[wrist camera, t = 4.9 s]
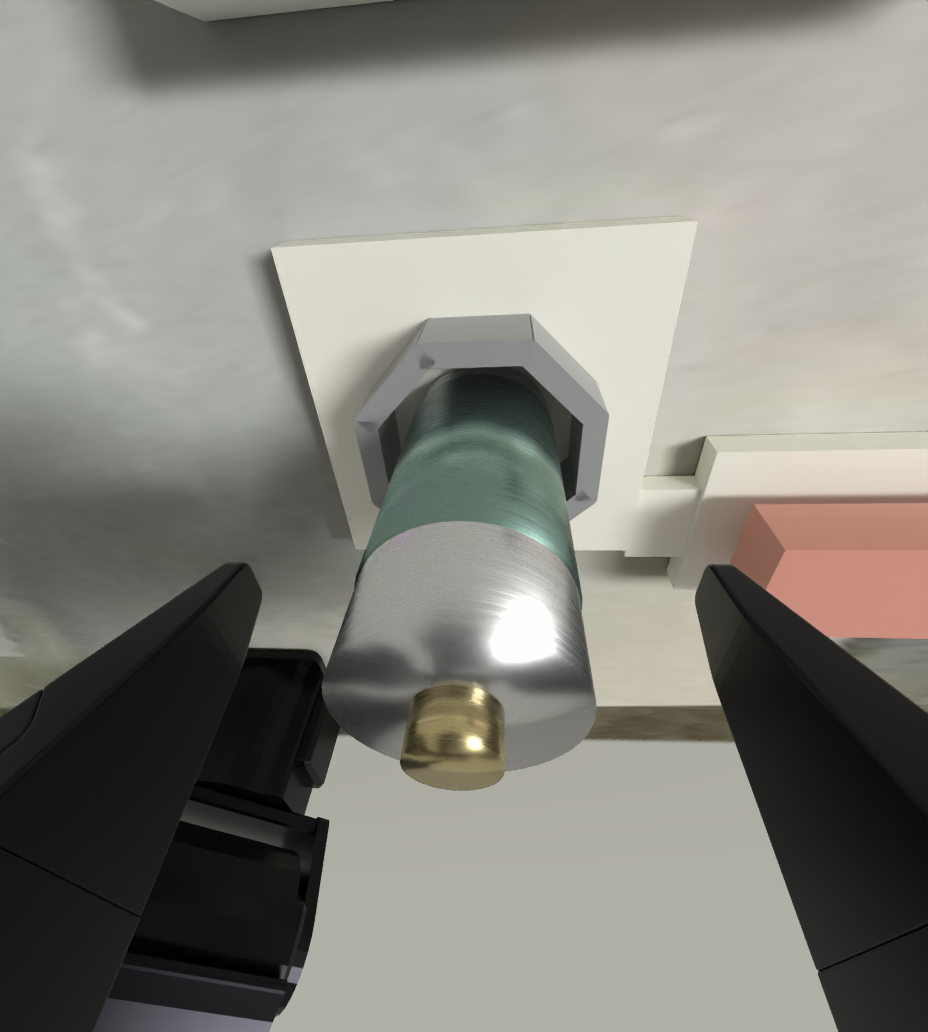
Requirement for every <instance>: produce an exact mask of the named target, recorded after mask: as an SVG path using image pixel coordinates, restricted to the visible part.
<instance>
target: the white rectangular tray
mask: <svg viewBox="0 0 928 1032" xmlns="http://www.w3.org/2000/svg"><path fill="white" fill-rule="evenodd" d="M154 1H156V2H159V3H161V4H163V5H166V6H168V7H171V8H173V9H176V10H178V11H180V12H183V13H185V14H188V15H190V16H192V17H195V18H197V19H200V20H202V21H204V22H206V21H215V20H224V19H233V18H242V17H250V16H259V15H268V14H277V13H286V12H295V11H304V10H312V9H321V8H330V7H339V6H348V5H357V4H366V3H374V2H383V1H392V0H154Z"/></svg>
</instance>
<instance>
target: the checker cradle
mask: <svg viewBox="0 0 928 1032" xmlns="http://www.w3.org/2000/svg"><path fill="white" fill-rule="evenodd" d="M697 224H698V221H697V220H694V219H692V218H689V217H687V216H673V217H657V218H641V219H626V220H610V221H594V222H579V223H563V224H548V225H532V226H516V227H501V228H485V229H469V230H454V231H438V232H422V233H407V234H391V235H375V236H360V237H344V238H328V239H313V240H297V241H285V242H283V243H280V244H278V245H276V246H273V247H271V251H272V255H273V258H274V262H275V265H276V269H277V272H278V276H279V280H280V283H281V287H282V290H283V294H284V297H285V301H286V304H287V308H288V311H289V315H290V319H291V322H292V326H293V329H294V333H295V336H296V340H297V343H298V347H299V350H300V354H301V358H302V361H303V365H304V368H305V372H306V375H307V379H308V382H309V386H310V389H311V393H312V396H313V400H314V404H315V407H316V411H317V414H318V418H319V421H320V425H321V428H322V432H323V435H324V439H325V443H326V446H327V450H328V453H329V457H330V460H331V464H332V467H333V471H334V474H335V478H336V482H337V485H338V489H339V492H340V496H341V499H342V503H343V506H344V510H345V513H346V517H347V521H348V524H349V528H350V531H351V535H352V538H353V542H354V545H355V549H356V550H366V547H367V544H368V541H369V539H370V536H371V533H372V530H373V528H374V525H375V522H376V519H377V516H378V514H379V511H380V508H381V505H382V503H383V500H384V497H385V494H386V491H387V489H388V486H389V483H390V480H391V478H392V475H393V472H394V469H395V466H396V464H397V461H398V458H399V455H400V453H401V450H402V447H403V444H404V441H405V439H406V436H407V433H408V430H409V428H410V425H411V422H412V419H413V417H414V414H415V412H416V410H417V408H418V407H419V405H420V402H421V400H422V397H423V396H424V394H425V392H426V390H427V389H428V388H429V387H430V385H431V384H432V383H433V382H434V381H435V380H436V379H437V378H438V377H440V376H441V375H442V374H444V373H445V372H447V371H449V370H451V369H453V368H477V367H505V366H509V367H511V368H513V369H515V370H517V371H519V372H521V373H522V374H524V375H525V376H526V377H528V378H529V379H530V380H531V381H532V382H533V383H534V384H535V385H536V386H537V387H538V389H539V390H540V392H541V393H542V394H543V396H544V398H545V401H546V403H547V406H548V409H549V414H550V417H551V420H552V423H553V427H554V433H555V438H556V444H557V450H558V456H559V462H560V468H561V474H562V480H563V486H564V492H565V498H566V504H567V510H568V516H569V522H570V528H571V534H572V540H573V546H574V550H623V553H624V556H625V557H671V558H670V561H669V564H668V568H667V573H668V575H669V578H670V580H671V583H672V586H673V588H674V589H697V588H698V586H699V583H700V580H701V577H702V575H703V572H704V569H705V568H706V566H707V565H709V564H730V561H731V559H732V556H733V554H734V551H735V549H736V547H737V544H738V542H739V539H740V537H741V534H742V532H743V529H744V527H745V524H746V522H747V520H748V517H749V515H750V512H751V510H752V507H753V505H754V504H871V503H928V432H881V433H832V434H783V435H734V436H706V439H705V442H704V446H703V449H702V452H701V456H700V459H699V463H698V466H697V469H696V473H695V476H644V473H645V468H646V463H647V459H648V454H649V449H650V445H651V440H652V435H653V431H654V426H655V421H656V417H657V412H658V407H659V402H660V398H661V393H662V388H663V384H664V379H665V374H666V370H667V365H668V360H669V356H670V351H671V346H672V341H673V337H674V332H675V327H676V323H677V318H678V313H679V309H680V304H681V299H682V295H683V290H684V285H685V280H686V276H687V271H688V266H689V262H690V257H691V252H692V248H693V243H694V238H695V234H696V229H697Z"/></svg>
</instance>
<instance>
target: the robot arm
mask: <svg viewBox="0 0 928 1032" xmlns="http://www.w3.org/2000/svg"><path fill="white" fill-rule="evenodd" d="M261 601H262V591H261V588H260V586H259V584H258V581H257V579H256V577H255V575H254V573H253V571H252V569H251V567H250V566H249V565H248V564H247V563H243V562H229V563H225V564H223V565H222V566H220V567H219V568H217V569H216V570H215V571H213V572H212V573H210V574H209V575H207V576H206V577H204V578H203V579H201V580H200V581H199V582H197V583H196V584H194V585H193V586H191V587H190V588H188V589H187V590H185V591H184V592H183V593H181V594H180V595H178V596H177V597H175V598H174V599H172V600H171V601H169V602H168V603H166V604H165V605H164V606H162V607H161V608H159V609H158V610H156V611H155V612H153V613H152V614H150V615H149V616H148V617H146V618H145V619H143V620H142V621H140V622H139V623H137V624H136V625H134V626H133V627H131V628H130V629H129V630H127V631H126V632H124V633H123V634H121V635H120V636H118V637H117V638H115V639H114V640H112V641H111V642H110V643H108V644H107V645H105V646H104V647H102V648H101V649H99V650H98V651H96V652H95V653H94V654H92V655H91V656H89V657H88V658H86V659H85V660H83V661H82V662H80V663H79V664H77V665H76V666H75V667H73V668H72V669H70V670H69V671H67V672H66V673H64V674H63V675H61V676H60V677H58V678H57V679H56V680H54V681H53V682H51V683H50V684H48V685H47V686H46V687H45V688H44V690H40V691H38V692H36V693H35V694H34V695H32V696H31V697H29V698H28V699H26V700H25V701H23V702H22V703H21V704H19V705H18V706H16V707H15V708H13V709H12V710H10V711H9V712H7V713H6V714H4V715H3V716H1V717H0V1032H269V1031H270V1028H271V1025H272V1022H273V1020H274V1018H275V1017H276V1016H278V1015H280V1014H281V1012H282V1011H283V1010H284V1009H285V1007H286V1006H287V1004H288V1002H289V1000H290V998H291V996H292V994H293V992H294V990H295V988H296V985H297V983H298V980H299V978H300V975H301V972H302V969H303V966H304V963H305V960H306V956H307V953H308V950H309V946H310V942H311V938H312V933H313V927H314V921H315V915H316V908H317V901H318V895H319V887H320V881H321V875H322V868H323V861H324V854H325V847H326V841H327V834H328V828H329V820H327V819H323V818H320V817H318V818H316V819H315V818H312V817H309V816H305V815H304V814H305V811H306V807H307V804H308V801H309V798H310V794H311V791H312V788H320V787H321V786H322V784H324V781H325V778H326V774H327V771H328V767H329V764H330V760H331V757H332V753H333V750H334V746H335V743H336V739H337V736H338V732H339V729H340V726H339V725H338V723H337V722H336V721H335V720H334V718H333V717H332V716H331V714H330V713H329V711H328V709H327V707H326V705H325V702H324V699H323V694H322V683H323V677H324V674H325V671H326V667H325V665H324V662H323V660H322V658H321V656H319V655H318V654H316V653H312V652H282V651H247V650H248V647H249V643H250V640H251V636H252V633H253V629H254V626H255V622H256V619H257V615H258V612H259V608H260V605H261ZM695 605H696V610H697V614H698V618H699V623H700V627H701V631H702V636H703V640H704V644H705V649H706V653H707V657H708V662H709V666H710V670H711V674H712V678H713V681H714V684H715V687H716V690H717V693H718V696H719V699H720V702H721V705H722V707H723V710H724V713H725V716H726V719H727V721H728V724H729V727H730V730H731V733H732V735H733V738H734V741H735V744H736V746H737V749H738V752H739V754H740V758H741V760H742V763H743V766H744V769H745V772H746V774H747V777H748V780H749V783H750V786H751V788H752V791H753V794H754V797H755V799H756V802H757V805H758V808H759V810H760V813H761V816H762V819H763V822H764V824H765V827H766V830H767V833H768V836H769V838H770V841H771V844H772V847H773V850H774V852H775V855H776V858H777V860H778V864H779V866H780V869H781V872H782V875H783V877H784V880H785V883H786V886H787V889H788V891H789V894H790V897H791V900H792V903H793V906H794V908H795V911H796V914H797V917H798V919H799V922H800V925H801V928H802V931H803V933H804V936H805V939H806V942H807V945H808V947H809V950H810V953H811V956H812V959H813V961H814V964H815V967H816V969H817V970H818V971H819V972H818V976H819V979H820V982H821V985H822V987H823V990H824V993H825V996H826V999H827V1001H828V1004H829V1007H830V1010H831V1013H832V1015H833V1018H834V1021H835V1024H836V1026H837V1029H838V1032H928V713H927V712H926V711H924V710H923V709H922V708H920V707H919V706H918V705H916V704H915V703H914V702H912V701H911V700H910V699H909V698H907V697H906V696H905V695H903V694H902V693H901V692H899V691H898V690H897V689H895V688H894V687H893V686H891V685H890V684H889V683H887V682H886V681H885V680H884V679H882V678H881V677H880V676H878V675H877V674H876V673H874V672H873V671H872V670H870V669H869V668H868V667H866V666H865V665H864V664H863V663H861V662H860V661H859V660H857V659H856V658H855V657H853V656H852V655H851V654H849V653H848V652H847V651H845V650H844V649H843V648H841V647H840V646H839V645H838V644H836V643H835V642H834V641H832V640H831V639H830V638H828V637H827V636H826V635H824V634H823V633H822V632H820V631H819V630H818V629H816V628H815V627H814V626H813V625H811V624H810V623H809V622H807V621H806V620H805V619H803V618H802V617H801V616H799V615H798V614H797V613H795V612H794V611H793V610H792V609H790V608H789V607H788V606H786V605H785V604H784V603H782V602H781V601H780V600H778V599H777V598H776V597H774V596H773V595H772V594H770V593H769V592H768V591H767V590H765V589H764V588H763V587H761V586H760V585H759V584H757V583H756V582H755V581H753V580H752V579H751V578H749V577H748V576H747V575H745V574H744V573H743V572H742V571H740V570H739V569H738V568H736V567H735V566H733V565H731V564H709V565H707V566H706V568H705V569H704V572H703V575H702V577H701V580H700V583H699V586H698V588H697V591H696V595H695Z"/></svg>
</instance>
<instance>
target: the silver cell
mask: <svg viewBox="0 0 928 1032" xmlns="http://www.w3.org/2000/svg"><path fill="white" fill-rule="evenodd" d="M581 611H582V594H581V587H580V581H579V575H578V569H577V563H576V557H575V551H574V546H573V540H572V534H571V528H570V522H569V516H568V510H567V504H566V498H565V492H564V486H563V480H562V474H561V468H560V462H559V456H558V450H557V444H556V438H555V433H554V427H553V423H552V420H551V417H550V414H549V409H548V406H547V403H546V401H545V398H544V396H543V394H542V393H541V392H540V390H539V389H538V387H537V386H536V385H535V384H534V383H533V382H532V381H531V380H530V379H529V378H528V377H526V376H525V375H524V374H522V373H521V372H519V371H517V370H515V369H513V368H511V367H509V366H505V367H477V368H453V369H451V370H449V371H447V372H445V373H444V374H442V375H441V376H440V377H438V378H437V379H436V380H435V381H434V382H433V383H432V384H431V385H430V387H429V388H428V389H427V390H426V392H425V394H424V396H423V397H422V400H421V402H420V405H419V407H418V408H417V410H416V412H415V414H414V417H413V419H412V422H411V425H410V428H409V430H408V433H407V436H406V439H405V441H404V444H403V447H402V450H401V453H400V455H399V458H398V461H397V464H396V466H395V469H394V472H393V475H392V478H391V480H390V483H389V486H388V489H387V491H386V494H385V497H384V500H383V503H382V505H381V508H380V511H379V514H378V516H377V519H376V522H375V525H374V528H373V530H372V533H371V536H370V539H369V541H368V544H367V547H366V550H365V553H364V555H363V558H362V561H361V564H360V566H359V569H358V572H357V575H356V580H355V589H354V592H353V595H352V598H351V600H350V603H349V606H348V609H347V612H346V615H345V617H344V620H343V623H342V626H341V629H340V632H339V634H338V637H337V640H336V643H335V646H334V649H333V651H332V654H331V657H330V660H329V663H328V666H327V668H326V671H325V674H324V677H323V683H322V694H323V699H324V702H325V705H326V707H327V709H328V711H329V713H330V714H331V716H332V717H333V718H334V720H335V721H336V722H337V723H338V725H339V726H341V727H342V728H343V729H344V730H345V731H346V732H347V733H348V734H350V735H351V736H352V737H354V738H355V739H356V740H358V741H359V742H361V743H363V744H364V745H366V746H368V747H370V748H371V749H373V750H375V751H378V752H380V753H382V754H384V755H387V756H389V757H392V758H395V759H397V760H400V765H401V767H402V769H403V771H404V772H405V773H406V774H407V775H408V776H410V777H411V778H413V779H414V780H416V781H418V782H420V783H423V784H426V785H428V786H432V787H436V788H440V789H446V790H457V791H458V790H459V791H464V790H465V791H467V790H477V789H482V788H486V787H489V786H491V785H494V784H495V783H497V782H498V781H500V780H501V778H502V777H503V775H504V771H511V770H517V769H523V768H527V767H531V766H535V765H539V764H541V763H544V762H547V761H550V760H552V759H555V758H557V757H559V756H561V755H563V754H564V753H566V752H568V751H569V750H571V749H573V748H574V747H575V746H576V745H578V744H579V743H580V742H581V741H582V740H583V739H584V738H585V737H586V736H587V735H588V733H589V731H590V730H591V728H592V727H593V724H594V721H595V718H596V711H597V706H596V699H595V693H594V687H593V680H592V674H591V668H590V662H589V656H588V649H587V643H586V637H585V631H584V625H583V618H582V612H581Z"/></svg>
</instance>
